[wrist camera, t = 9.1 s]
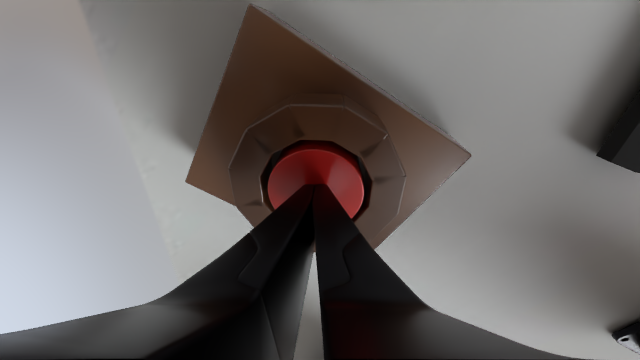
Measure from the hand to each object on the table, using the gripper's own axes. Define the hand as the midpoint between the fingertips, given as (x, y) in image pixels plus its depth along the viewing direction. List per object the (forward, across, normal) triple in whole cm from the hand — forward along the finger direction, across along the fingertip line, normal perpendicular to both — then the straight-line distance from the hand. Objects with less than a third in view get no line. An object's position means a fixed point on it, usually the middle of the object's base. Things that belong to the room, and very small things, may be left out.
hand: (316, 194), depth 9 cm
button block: (+4, 0, 0) cm, 4 cm away
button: (+2, 0, 0) cm, 2 cm away
